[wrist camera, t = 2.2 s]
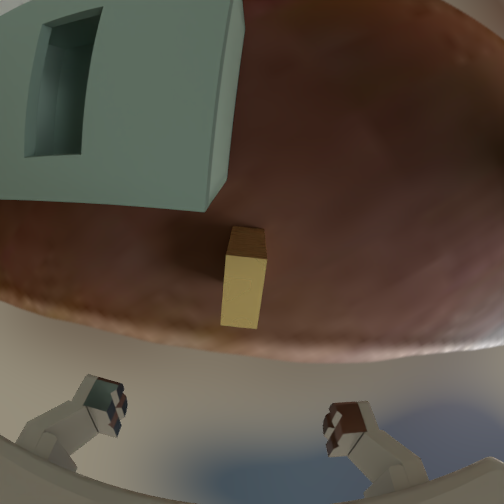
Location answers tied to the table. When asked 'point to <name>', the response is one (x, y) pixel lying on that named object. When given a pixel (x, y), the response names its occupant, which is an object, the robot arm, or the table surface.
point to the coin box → (118, 100)
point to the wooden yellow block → (244, 277)
